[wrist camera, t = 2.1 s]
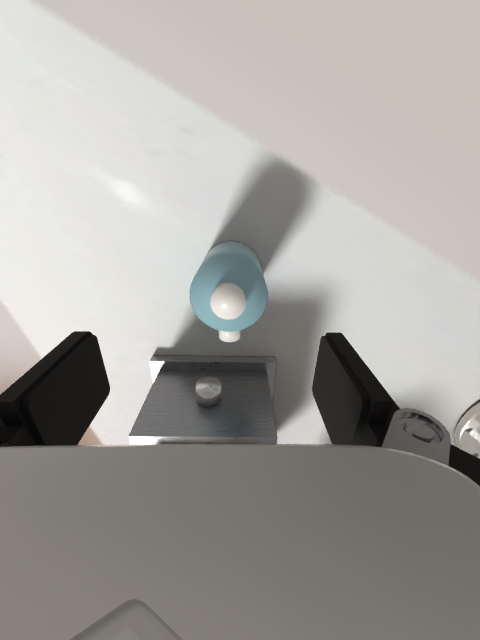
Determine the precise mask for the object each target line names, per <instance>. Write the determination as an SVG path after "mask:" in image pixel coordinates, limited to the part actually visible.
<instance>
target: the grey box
mask: <svg viewBox="0 0 480 640" xmlns="http://www.w3.org/2000/svg"><path fill="white" fill-rule="evenodd" d="M150 367H151V373H152V379H153V385H152V387H151V389H150V391H149V393H148V395H147V398H146V400H145V402H144V404H143V406H142V408H141V410H140V413H139V415H138V417H137V419H136V421H135V423H134V426H133V428H132V430H131V432H130V434H129V440H130V444H131V445H156V444H277V432H276V426H275V419H274V413H273V395H274V384H275V373H276V359H275V357H250V356H168V355H153V356H152V358H151V360H150Z"/></svg>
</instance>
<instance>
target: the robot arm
mask: <svg viewBox="0 0 480 640" xmlns="http://www.w3.org/2000/svg"><path fill="white" fill-rule="evenodd" d="M109 392H110V385H109V382H108V378H107V374H106V370H105V366H104V363H103V359H102V355H101V351H100V347H99V344H98V340H97V337H96V336H95V335H93V334H92V333H91V332H73V333H72V334H70V335H69V336H68V337H67V338H66V339H65V340H63V341H62V342H61V343H60V344H59V345H58V346H56V347H55V348H54V349H53V350H52V351H51V352H49V353H48V354H47V355H46V356H45V357H44V358H43V359H41V360H40V361H39V362H38V363H37V364H36V365H35V366H33V367H32V368H31V369H30V370H29V371H27V372H26V373H25V374H24V375H23V376H22V377H20V378H19V379H18V380H17V381H16V382H15V383H13V384H12V385H11V386H10V387H9V388H8V389H7V390H5V391H4V392H3V393H2V394H1V395H0V640H480V402H479V403H477V404H476V405H475V406H473V407H472V408H471V409H470V410H469V411H467V412H466V414H465V415H464V416H463V417H462V418H461V420H460V421H459V423H458V425H457V427H456V430H455V442H456V444H457V446H458V447H459V448H457V447H455V446H453V445H451V444H450V442H451V439H450V434H449V432H448V431H447V429H446V428H445V427H444V426H443V425H442V424H441V423H440V422H439V421H438V420H436V419H435V418H433V417H432V416H430V415H428V414H426V413H424V412H421V411H418V410H415V409H408V408H406V409H400V408H399V407H398V406H397V405H396V403H395V402H394V401H393V399H392V398H391V397H390V395H389V394H388V393H387V391H386V390H385V389H384V388H383V386H382V385H381V384H380V382H379V381H378V380H377V378H376V377H375V376H374V374H373V373H372V372H371V371H370V369H369V368H368V367H367V365H366V364H365V363H364V362H363V360H362V359H361V358H360V356H359V355H358V354H357V352H356V351H355V350H354V348H353V347H352V346H351V345H350V343H349V342H348V341H347V339H346V338H345V337H344V335H343V334H342V333H326V335H325V336H322V337H321V340H320V346H319V352H318V357H317V363H316V369H315V374H314V380H313V386H312V392H313V396H314V398H315V401H316V403H317V406H318V409H319V411H320V414H321V416H322V419H323V421H324V424H325V427H326V429H327V432H328V434H329V437H330V439H331V442H332V444H156V445H78V443H79V441H80V440H81V438H82V437H83V435H84V433H85V432H86V430H87V428H88V427H89V425H90V424H91V422H92V421H93V419H94V417H95V416H96V414H97V413H98V411H99V409H100V408H101V406H102V405H103V403H104V401H105V400H106V398H107V397H108V395H109Z"/></svg>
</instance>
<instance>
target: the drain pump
mask: <svg viewBox="0 0 480 640" xmlns="http://www.w3.org/2000/svg"><path fill="white" fill-rule="evenodd" d="M267 299H268V292H267V287H266V283H265V280H264V277H263V273H262V270H261V266H260V263H259V260H258V257H257V256H256V254H255V252H254V251H253V250H252V249H251V248H250V247H248V246H247V245H245V244H243V243H241V242H237V241H225V242H222V243H219V244H217V245H216V246H214V247H213V248H212V249H211V250H210V251H209V252H208V254H207V255H206V257H205V259H204V261H203V262H202V264H201V266H200V268H199V270H198V271H197V273H196V275H195V277H194V279H193V281H192V283H191V287H190V302H191V305H192V308H193V310H194V312H195V314H196V315H197V316H198V318H199V319H200V320H201V321H202V322H204V323H205V324H206V325H208V326H209V327H211V328H214V329H216V330H219V338H220V340H222V341H225V342H235V341H237V340H239V339H240V330H243V329H245V328H247V327H249V326H251V325H252V324H254V323H255V322H256V321H257V320H258V319H259V318H260V317H261V315H262V314H263V312H264V310H265V308H266V304H267Z"/></svg>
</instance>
